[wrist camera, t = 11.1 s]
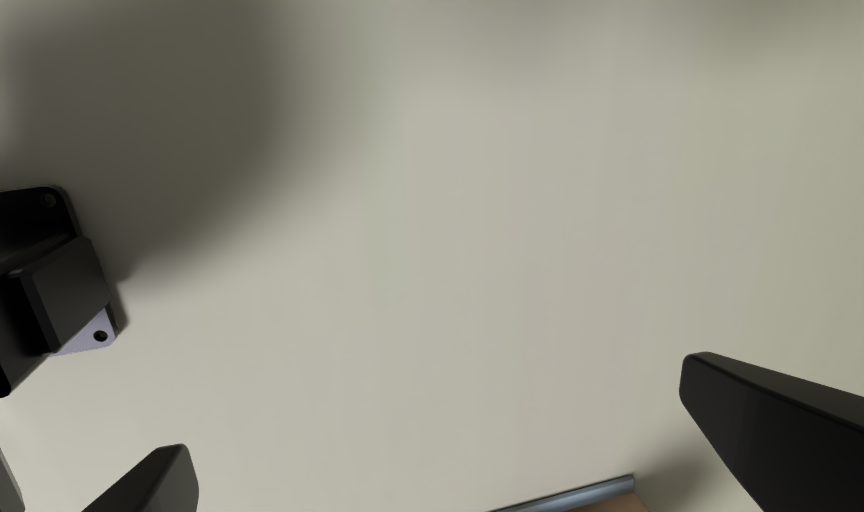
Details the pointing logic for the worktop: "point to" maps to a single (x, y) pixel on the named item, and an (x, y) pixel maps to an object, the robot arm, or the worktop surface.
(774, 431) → the robot arm
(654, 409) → the worktop surface
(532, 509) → the blueprint plinth
